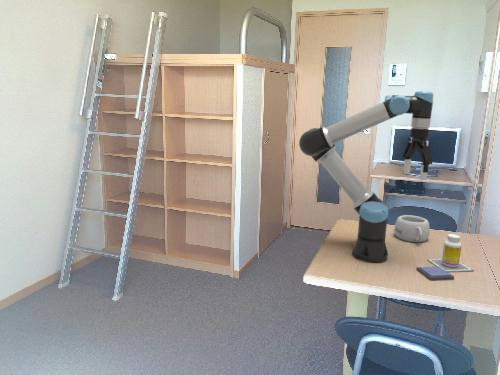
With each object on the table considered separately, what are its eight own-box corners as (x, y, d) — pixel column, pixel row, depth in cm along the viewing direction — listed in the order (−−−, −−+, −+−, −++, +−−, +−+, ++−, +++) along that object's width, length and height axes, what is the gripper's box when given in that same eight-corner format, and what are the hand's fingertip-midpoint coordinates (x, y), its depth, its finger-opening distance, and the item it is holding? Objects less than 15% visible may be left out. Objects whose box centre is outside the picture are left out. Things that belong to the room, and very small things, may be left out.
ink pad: (430, 280, 165) (430, 276, 164) (416, 270, 174) (416, 266, 174) (453, 279, 166) (454, 275, 166) (438, 269, 176) (439, 265, 176)
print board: (444, 272, 173) (445, 271, 173) (426, 260, 185) (426, 259, 185) (473, 271, 175) (473, 270, 175) (453, 259, 187) (454, 258, 187)
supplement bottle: (460, 268, 176) (464, 239, 173) (443, 266, 177) (447, 237, 175) (456, 262, 183) (460, 234, 180) (439, 261, 184) (443, 232, 181)
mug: (389, 231, 223) (391, 213, 221) (421, 233, 222) (424, 214, 220) (401, 246, 202) (404, 226, 200) (437, 247, 201) (440, 227, 199)
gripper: (445, 131, 172) (438, 182, 177) (412, 126, 196) (407, 171, 201) (428, 130, 171) (422, 182, 175) (397, 125, 195) (392, 171, 199)
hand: (414, 176), depth 188 cm, fingers open, 13 cm apart
